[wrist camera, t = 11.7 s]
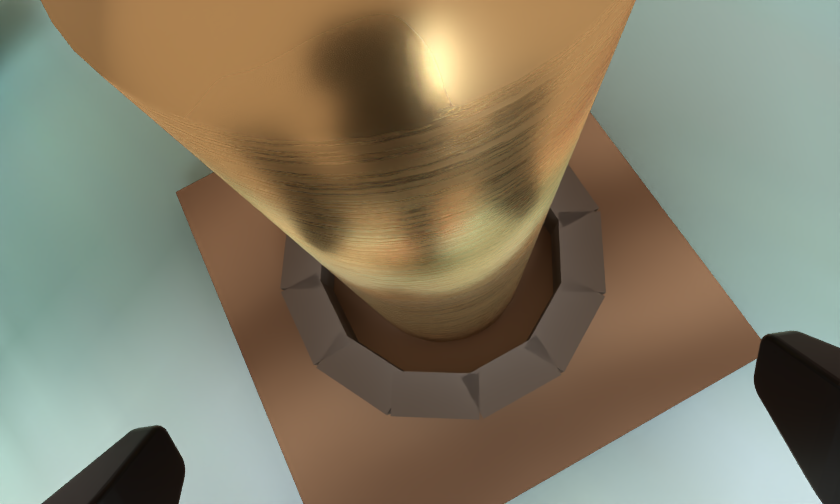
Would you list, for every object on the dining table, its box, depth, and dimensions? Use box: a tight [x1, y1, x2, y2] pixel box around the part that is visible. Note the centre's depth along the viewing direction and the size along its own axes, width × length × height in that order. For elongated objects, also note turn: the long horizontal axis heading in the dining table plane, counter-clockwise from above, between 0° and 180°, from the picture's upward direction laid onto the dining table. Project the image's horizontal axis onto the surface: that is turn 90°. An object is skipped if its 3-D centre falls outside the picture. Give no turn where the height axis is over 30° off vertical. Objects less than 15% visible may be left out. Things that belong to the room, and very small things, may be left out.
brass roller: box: [41, 0, 636, 342], centre depth 10 cm, size 5×5×13 cm
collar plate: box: [176, 112, 761, 504], centre depth 16 cm, size 14×14×2 cm
